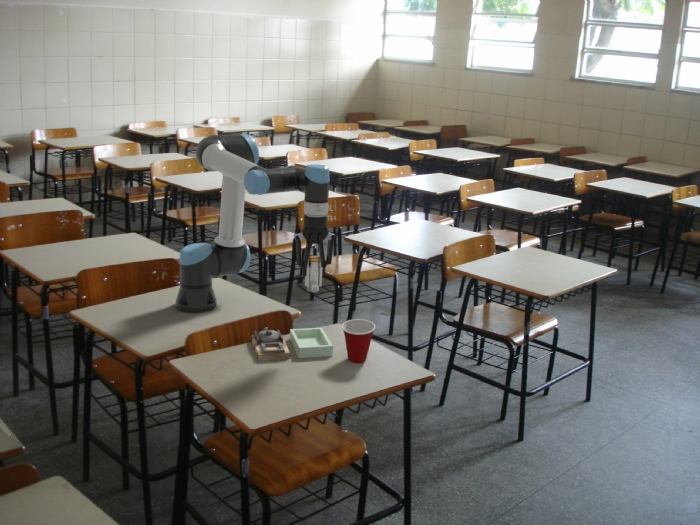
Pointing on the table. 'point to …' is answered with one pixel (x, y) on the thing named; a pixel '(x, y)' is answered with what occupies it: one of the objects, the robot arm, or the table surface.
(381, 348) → the table surface
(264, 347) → the pulley block
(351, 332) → the plastic cup
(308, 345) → the tray
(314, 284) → the glass bottle
